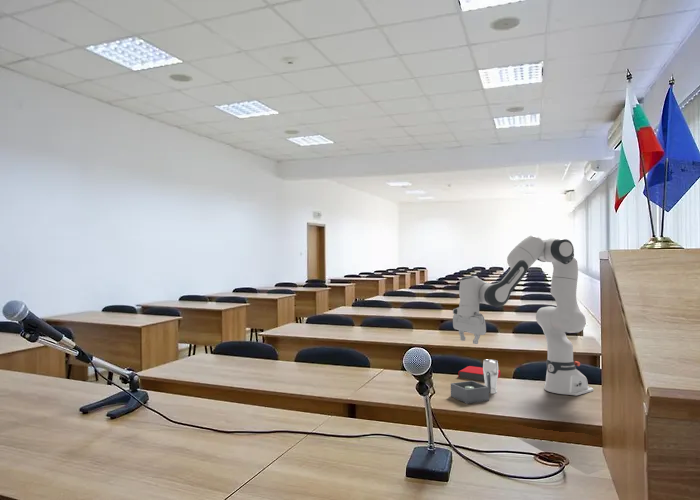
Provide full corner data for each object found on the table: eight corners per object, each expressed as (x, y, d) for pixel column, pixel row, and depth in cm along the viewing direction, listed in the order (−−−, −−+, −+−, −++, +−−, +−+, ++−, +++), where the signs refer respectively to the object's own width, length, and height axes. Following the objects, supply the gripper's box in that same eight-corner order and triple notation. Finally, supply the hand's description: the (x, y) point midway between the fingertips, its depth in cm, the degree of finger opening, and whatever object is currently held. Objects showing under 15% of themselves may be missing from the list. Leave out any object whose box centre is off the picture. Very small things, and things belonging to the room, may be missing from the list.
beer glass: (499, 395, 221) (499, 362, 221) (483, 394, 222) (483, 362, 223) (497, 391, 228) (497, 359, 228) (482, 390, 229) (482, 359, 230)
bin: (472, 393, 224) (472, 380, 224) (488, 400, 213) (488, 387, 213) (450, 396, 219) (450, 383, 219) (466, 403, 208) (466, 389, 208)
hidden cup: (470, 395, 218) (470, 385, 219) (475, 397, 215) (475, 387, 215) (463, 396, 217) (463, 386, 217) (468, 398, 213) (468, 388, 213)
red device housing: (500, 379, 251) (500, 370, 251) (492, 385, 239) (492, 375, 239) (467, 374, 261) (467, 365, 261) (458, 380, 249) (458, 370, 249)
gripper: (489, 313, 208) (489, 345, 208) (461, 309, 227) (461, 338, 227) (477, 314, 206) (477, 346, 205) (450, 309, 225) (450, 339, 224)
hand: (469, 342), depth 216 cm, fingers open, 8 cm apart
